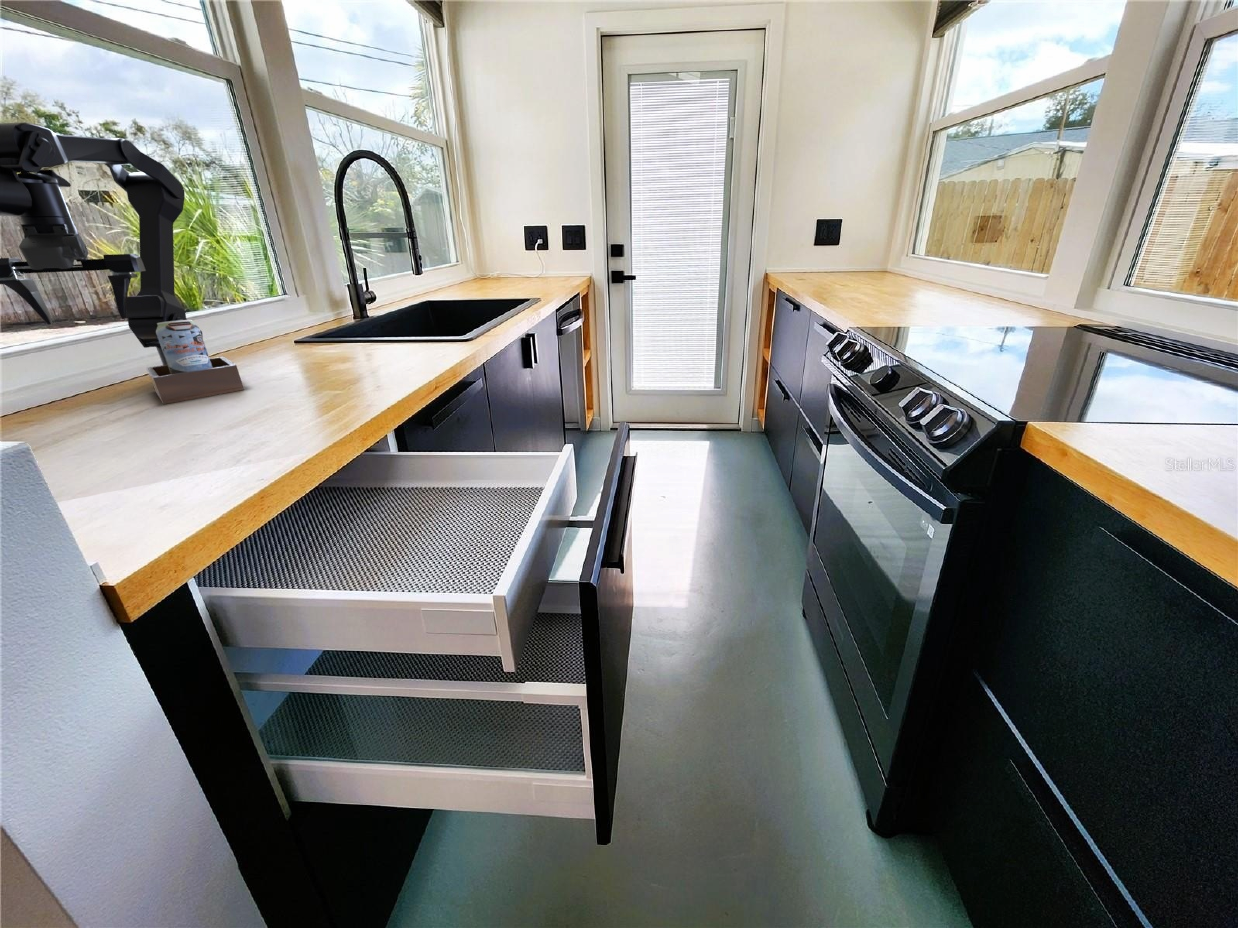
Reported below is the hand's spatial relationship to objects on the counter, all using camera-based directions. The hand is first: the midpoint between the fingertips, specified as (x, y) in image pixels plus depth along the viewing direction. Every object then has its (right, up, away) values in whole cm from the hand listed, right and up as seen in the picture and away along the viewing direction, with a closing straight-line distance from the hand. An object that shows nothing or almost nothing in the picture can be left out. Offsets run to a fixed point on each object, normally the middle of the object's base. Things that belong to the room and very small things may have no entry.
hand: (88, 321), depth 88 cm
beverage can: (+12, -10, +8) cm, 18 cm away
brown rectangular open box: (+12, -10, +8) cm, 18 cm away
